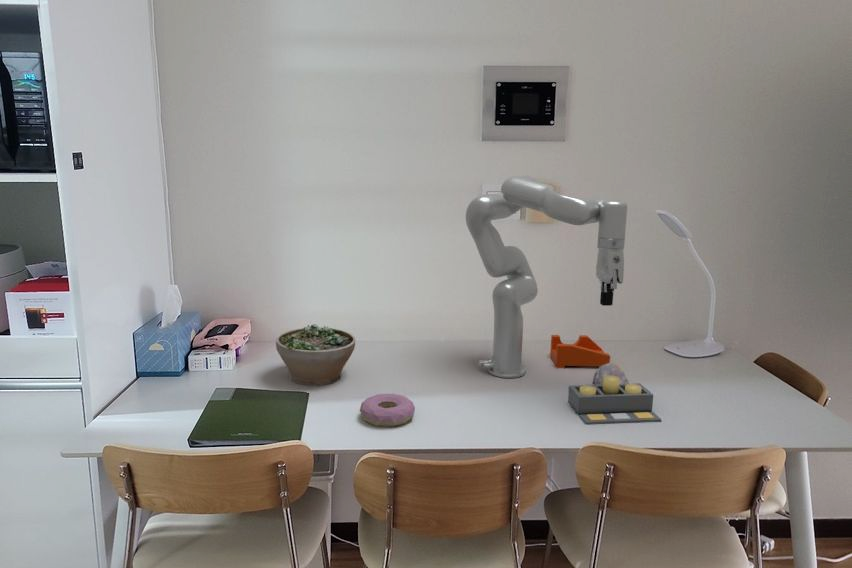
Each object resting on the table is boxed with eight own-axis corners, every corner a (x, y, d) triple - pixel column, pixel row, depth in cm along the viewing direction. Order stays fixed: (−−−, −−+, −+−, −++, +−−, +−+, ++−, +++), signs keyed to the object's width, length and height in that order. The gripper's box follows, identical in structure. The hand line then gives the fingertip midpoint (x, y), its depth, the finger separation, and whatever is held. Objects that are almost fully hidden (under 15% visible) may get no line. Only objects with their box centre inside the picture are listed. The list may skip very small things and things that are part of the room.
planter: (306, 359, 234) (305, 318, 230) (369, 371, 223) (369, 328, 220) (259, 383, 211) (257, 338, 208) (327, 397, 201) (326, 350, 197)
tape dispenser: (556, 369, 229) (557, 345, 227) (550, 357, 242) (551, 334, 240) (609, 370, 229) (611, 346, 227) (600, 357, 242) (601, 335, 240)
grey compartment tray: (578, 415, 191) (579, 397, 190) (567, 402, 200) (569, 385, 198) (651, 412, 193) (653, 394, 192) (638, 400, 202) (639, 383, 201)
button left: (581, 407, 193) (583, 391, 192) (576, 401, 197) (577, 385, 196) (597, 407, 193) (598, 390, 192) (591, 401, 198) (592, 385, 197)
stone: (614, 414, 206) (640, 394, 204) (592, 391, 205) (618, 371, 203) (605, 393, 222) (629, 374, 220) (585, 372, 222) (609, 353, 219)
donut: (355, 409, 193) (355, 393, 192) (407, 404, 197) (407, 388, 196) (366, 432, 178) (366, 415, 177) (421, 426, 183) (421, 409, 182)
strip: (585, 424, 185) (585, 421, 185) (579, 416, 190) (579, 413, 190) (661, 421, 188) (661, 418, 187) (653, 414, 192) (653, 411, 192)
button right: (627, 406, 195) (629, 389, 193) (621, 399, 199) (622, 384, 198) (642, 405, 195) (644, 389, 194) (636, 399, 200) (637, 383, 198)
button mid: (605, 397, 193) (606, 381, 192) (599, 391, 198) (600, 375, 196) (620, 397, 194) (622, 380, 193) (614, 391, 198) (616, 375, 197)
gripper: (634, 247, 187) (628, 311, 191) (613, 239, 201) (608, 298, 205) (608, 247, 186) (603, 311, 190) (589, 239, 201) (585, 298, 205)
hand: (606, 304), depth 198 cm, fingers closed
